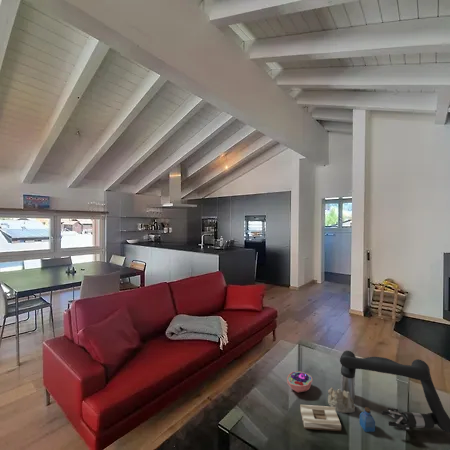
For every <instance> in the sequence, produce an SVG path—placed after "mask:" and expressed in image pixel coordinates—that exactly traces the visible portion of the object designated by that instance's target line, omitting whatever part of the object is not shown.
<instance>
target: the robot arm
mask: <svg viewBox="0 0 450 450" xmlns="http://www.w3.org/2000/svg"><path fill="white" fill-rule="evenodd" d="M339 363H340V365H341V368H340V390H341V391H344V390H345V391H346V393H347V391H348V392H349V393H350V397H351V398H352V400H353V401H354V402H355V396H356V393H355V390H356V389H355V388H356V372H357V371H356V370H366V371H370V372H377V373H381V374H387V375H388V374H390V375H395V376H400V377H406V378H409V379H413V380H417V381H420V383H421V386H422V389H423V394H424V397H425V399H426V402H427V405H428V407H429V409H430V411H431V412H428V413H420V412H419V413H418V412H412V411H411V412H410V411H409V412H408V411H403V412H399V409H398V408H394V407H393V408H392V407H391V408H390V407H387V410H383V409H382V410H381V415H383V416H390V417H392V418H394V420H395V421H396V422H395V421H388V426H389V427H396V428H398V430H399V431H410V428H414V429H417V428H418V429H422V428H424V429H425V428H426V429H433V428H434V427H435V425H436V426H438V427H439V428H440V429H441V430H442V431H444V432H445V433H446V432H447V433H450V416H449V415H448V414H447V412H446V409H444V405H443V403H442V401H441V399H440V397H439V394H438V392H437V390H436V387H435V385H434V383H433V379H432V377H431V376H432V375H431V372H430V367H429V365H428V363H426V362H425V361H424V360H423V359H414V360H413V361H412V362H411V365H408V364H401V363H399V362H396V361H394V360H392V359H390V358H388V357H383V356H382V357H381V356H370V357H369V356H368V357H362V358H361V357H356V355H355V354H354V352H352V350H345V351H343V352H342V354H341V355H340V357H339Z"/></svg>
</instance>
